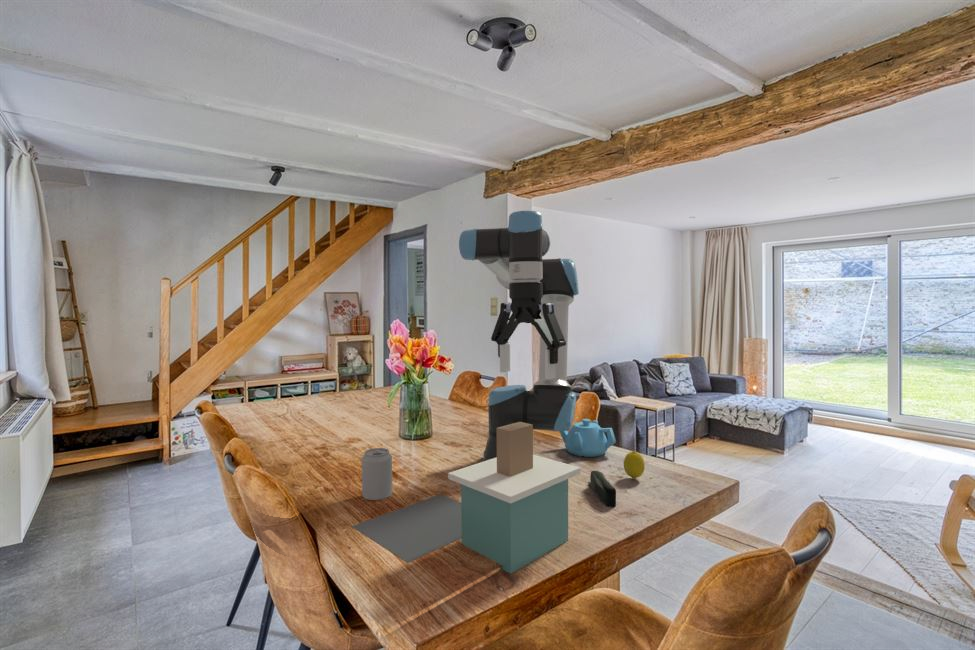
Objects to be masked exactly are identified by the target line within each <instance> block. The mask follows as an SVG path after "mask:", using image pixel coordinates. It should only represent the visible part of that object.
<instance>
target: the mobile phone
mask: <svg viewBox="0 0 975 650" xmlns="http://www.w3.org/2000/svg"><path fill="white" fill-rule="evenodd" d="M589 479H590V480H589V481H588V482H587V484H588V485H589V486H590V487H591V489H592V490H593V492H594V493H595V494H596V496H597V497H598V499H599V500H600V501H601V503H602V504H603V505H604V506H605V507H611V508H612V507H616V505H617V490H616V487H614V486H613V485H612V483H610V481H609V480H608V479H607V478H606V476H605V475H604V473H603V472H601V471H599V470H591V472H590V478H589Z"/></svg>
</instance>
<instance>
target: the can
mask: <svg viewBox="0 0 975 650" xmlns="http://www.w3.org/2000/svg"><path fill="white" fill-rule="evenodd" d="M363 454H364V455H363V456H362V457H361V492H362V493H361V496H362V497H363V499H365V500H367V501H379V500H381V501H382V500H384V499H387V498H389V497H391V496H392V494H393V456H392V455H391V453H390V450H389V449H388V448H385V447H376V448H369V449H367V450H364V452H363Z"/></svg>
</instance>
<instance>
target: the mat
mask: <svg viewBox="0 0 975 650" xmlns="http://www.w3.org/2000/svg"><path fill="white" fill-rule="evenodd" d="M351 527H352V528H353V529H355V530H356V531H358V532H359V533H361V534H363V536H366V537H367V538H369V539H370V540H371V541H373V542H375V543H377V544H378V545H380V546H381V547H382V548H384V549H386V550H387V551H389V552H390V553H392V554H393V555H395V556H396V557H398V558H399V559H401V560H403V561H404V562H406V563H411V562H413V561H415V560H418V559H420V558H421V557H424V556H426V555H428V554H431V553H432V552H435V551H438V550H439V549H441V548H443V547H445V546H447V545H450V544H452V543H455V542H456V541H459V540H460V539H461V540H462V518H461V502H460V501H459V500H456V499H453V498H452V497H449V496H447V495H444V494H443V493H440V494H437V495H434V496H431V497H429V498H425V499H424V500H421V501H418V502H414V503H413V504H410V505H407V506H403V507H402V508H398V509H396V510H393V511H390V512H387V513H385V514H381V515H378V516H376V517H373V518H370V519H368V520H366V521H362V522H360V523H356V524H353V525H352V526H351Z"/></svg>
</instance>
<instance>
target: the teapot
mask: <svg viewBox="0 0 975 650" xmlns="http://www.w3.org/2000/svg"><path fill="white" fill-rule="evenodd" d="M558 432H559V434H560V437H561V438H562V442H563V443H564V447H565V449H566V450H567V451H568V453H570V454H571V455H573V454H574V455H573V456H576V455H578V456H577V457H581V456H584V457H583V458H596V457H597V456H598V457H601V456H603V455H604V454H605V453H606V452H607V451H608V449H609V448H610V447H612V446H613V445H614V444H615V443H617V441H616V437H615V436H616V435H615V434H614V430H613V428H612V427H605V428H604V427H601V426H600V425H599V420H596V419H595V420H594V419H593V420H592V422H591V419H588V418H583V419H581V421H579V422H575V423H573V424H572V426H571V428H570V429H569V430H567V431H558ZM598 457H597V458H598Z"/></svg>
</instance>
